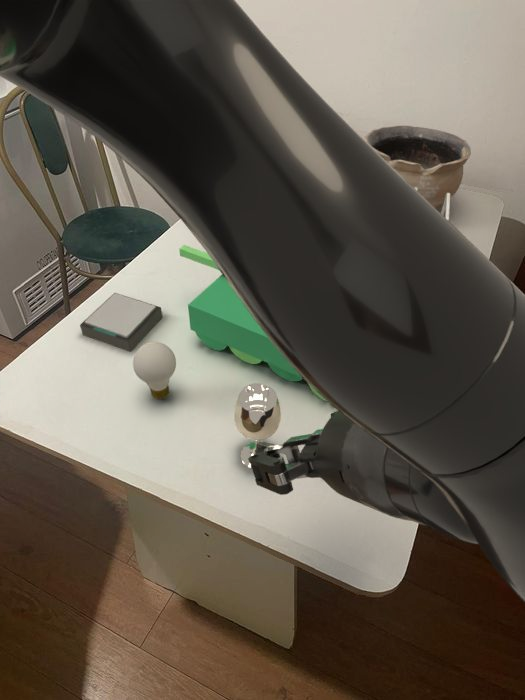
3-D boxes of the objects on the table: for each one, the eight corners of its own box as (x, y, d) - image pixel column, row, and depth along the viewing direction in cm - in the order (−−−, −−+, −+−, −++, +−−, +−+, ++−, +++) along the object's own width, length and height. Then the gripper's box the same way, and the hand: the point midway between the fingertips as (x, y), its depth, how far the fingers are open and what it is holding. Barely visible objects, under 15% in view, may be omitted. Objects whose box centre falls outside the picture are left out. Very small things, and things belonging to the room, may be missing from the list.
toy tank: (210, 219, 90) (402, 282, 77) (214, 276, 98) (387, 342, 86) (144, 268, 79) (355, 352, 66) (155, 328, 87) (343, 412, 75)
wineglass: (278, 474, 67) (282, 417, 59) (234, 473, 67) (232, 416, 59) (278, 438, 71) (281, 380, 63) (236, 437, 71) (234, 379, 63)
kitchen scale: (130, 351, 83) (127, 339, 81) (82, 334, 86) (78, 322, 84) (162, 316, 90) (160, 304, 88) (117, 302, 92) (114, 290, 90)
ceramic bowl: (350, 224, 113) (360, 157, 102) (358, 180, 128) (368, 118, 117) (454, 237, 109) (475, 169, 99) (450, 190, 125) (468, 127, 114)
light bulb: (136, 387, 78) (125, 339, 71) (174, 376, 79) (167, 328, 72) (146, 416, 74) (135, 368, 67) (185, 404, 76) (179, 356, 69)
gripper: (450, 376, 39) (347, 378, 54) (287, 446, 34) (224, 427, 50) (479, 469, 39) (368, 445, 55) (322, 550, 35) (248, 499, 50)
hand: (300, 436), depth 52 cm, fingers open, 8 cm apart
